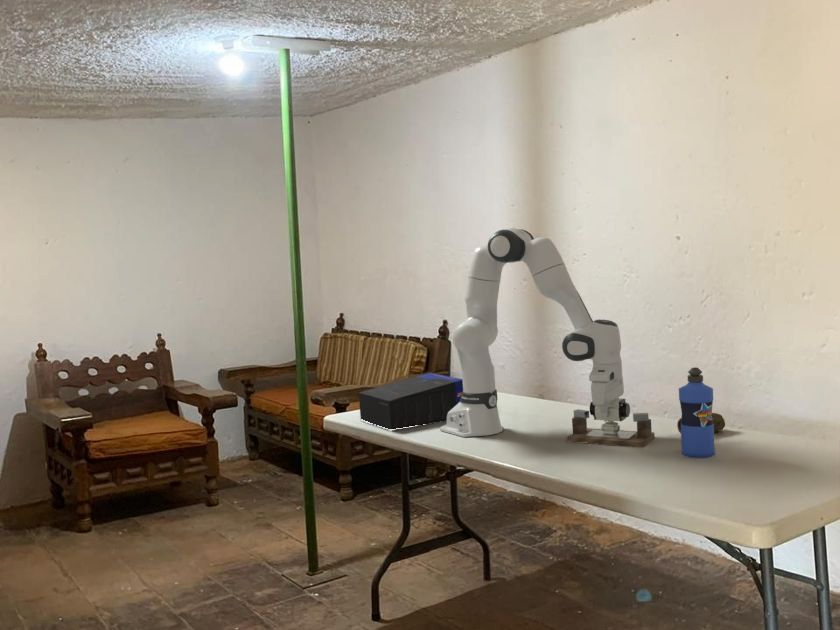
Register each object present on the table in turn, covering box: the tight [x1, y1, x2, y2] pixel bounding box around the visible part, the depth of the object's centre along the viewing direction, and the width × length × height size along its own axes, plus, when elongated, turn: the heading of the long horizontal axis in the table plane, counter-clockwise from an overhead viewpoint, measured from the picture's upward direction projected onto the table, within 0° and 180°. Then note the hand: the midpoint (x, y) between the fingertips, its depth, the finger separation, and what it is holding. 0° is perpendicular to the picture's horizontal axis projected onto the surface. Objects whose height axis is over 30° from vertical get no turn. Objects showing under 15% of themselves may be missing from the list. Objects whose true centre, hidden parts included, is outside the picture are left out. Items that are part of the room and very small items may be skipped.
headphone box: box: [358, 372, 463, 429], centre depth 309 cm, size 25×35×14 cm
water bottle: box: [678, 367, 716, 459], centre depth 236 cm, size 9×9×25 cm
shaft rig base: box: [566, 416, 656, 448], centre depth 259 cm, size 24×13×6 cm, turn 59°
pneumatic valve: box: [589, 398, 631, 435], centre depth 258 cm, size 6×12×12 cm, turn 59°
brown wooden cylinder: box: [676, 412, 726, 434], centre depth 258 cm, size 15×7×7 cm, turn 116°
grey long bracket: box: [573, 408, 649, 439], centre depth 259 cm, size 24×8×7 cm, turn 59°
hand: (609, 414), depth 258 cm, fingers open, 8 cm apart
